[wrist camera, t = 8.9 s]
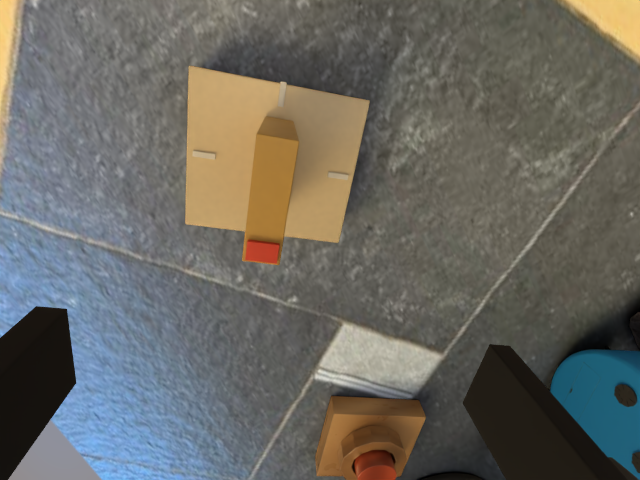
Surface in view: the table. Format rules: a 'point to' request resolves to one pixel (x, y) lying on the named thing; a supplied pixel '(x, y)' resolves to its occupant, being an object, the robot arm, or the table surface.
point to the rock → (636, 327)
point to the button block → (367, 432)
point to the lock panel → (239, 144)
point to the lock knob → (270, 190)
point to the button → (375, 466)
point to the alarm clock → (604, 400)
